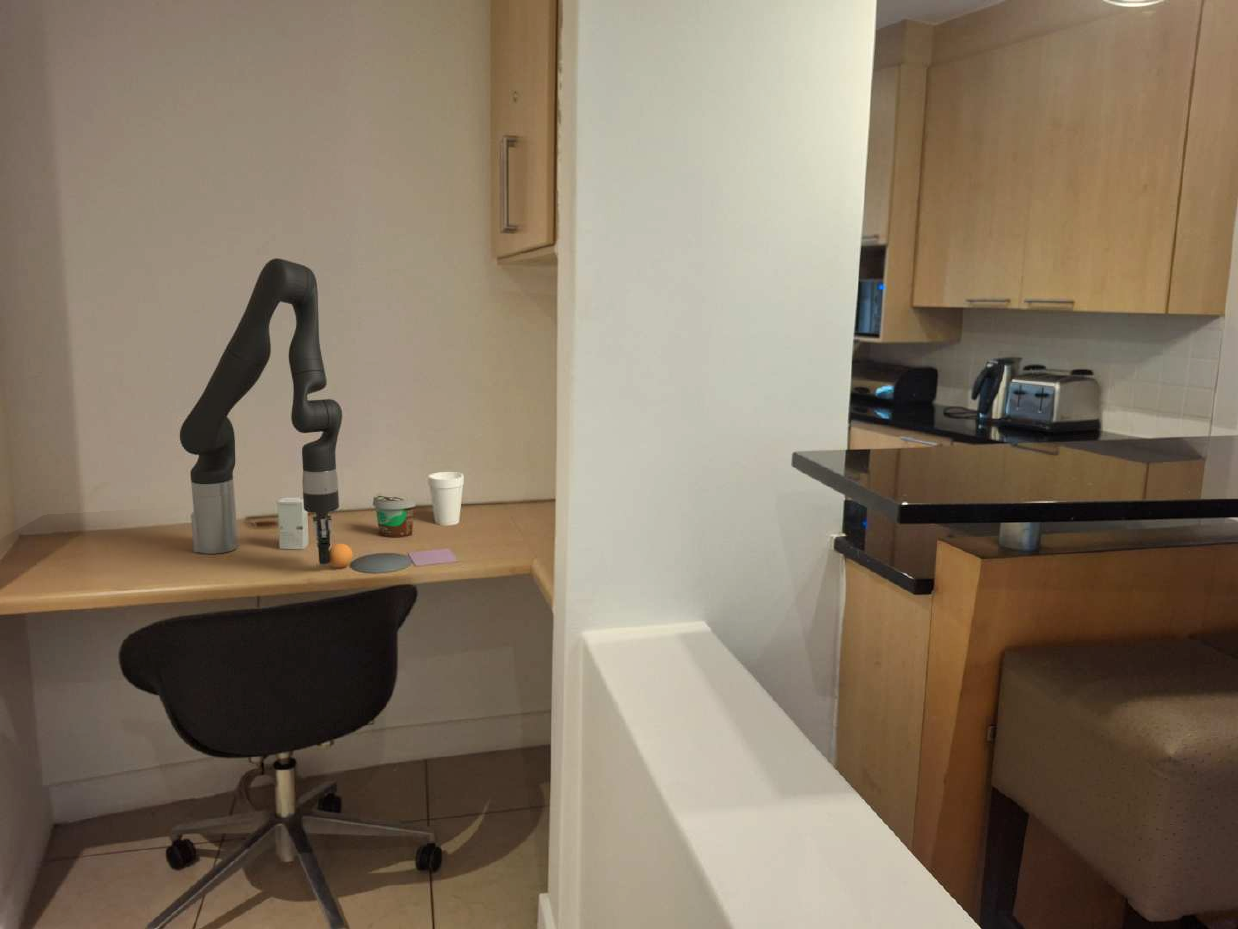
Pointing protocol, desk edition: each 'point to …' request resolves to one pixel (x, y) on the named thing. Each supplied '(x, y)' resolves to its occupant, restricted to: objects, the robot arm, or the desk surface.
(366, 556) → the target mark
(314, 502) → the robot arm
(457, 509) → the foam cup
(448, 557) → the far mark
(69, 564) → the desk surface
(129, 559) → the desk surface
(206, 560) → the desk surface
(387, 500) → the food container
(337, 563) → the ball
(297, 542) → the white box
